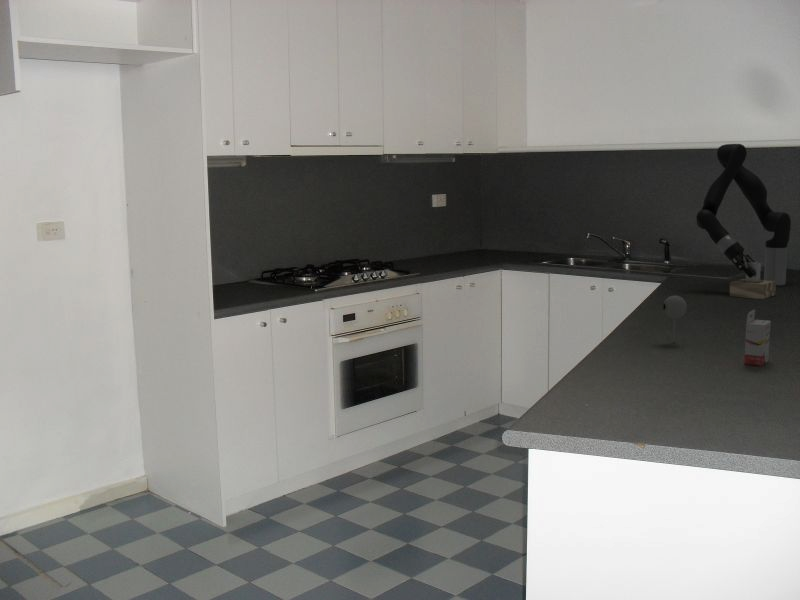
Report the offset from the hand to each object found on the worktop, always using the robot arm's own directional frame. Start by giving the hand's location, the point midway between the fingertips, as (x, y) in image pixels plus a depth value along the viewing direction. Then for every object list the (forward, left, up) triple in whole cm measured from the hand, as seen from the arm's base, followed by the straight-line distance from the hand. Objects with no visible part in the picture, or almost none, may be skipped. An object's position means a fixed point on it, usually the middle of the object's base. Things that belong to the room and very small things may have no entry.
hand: (756, 275), depth 374 cm
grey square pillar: (0, -1, -9) cm, 9 cm away
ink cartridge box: (+126, +48, -9) cm, 135 cm away
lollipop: (+113, +17, -9) cm, 115 cm away
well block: (0, -1, -9) cm, 9 cm away
